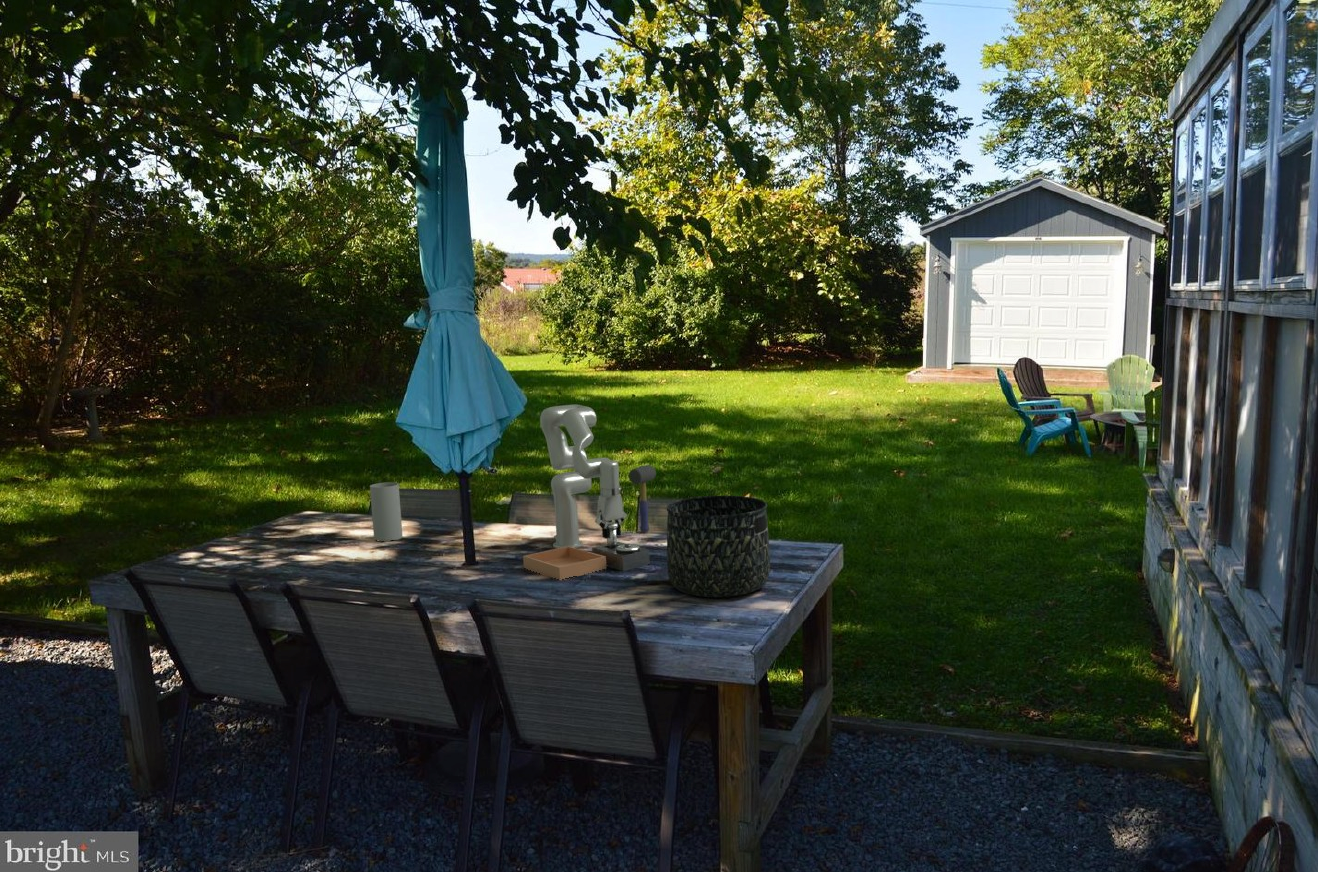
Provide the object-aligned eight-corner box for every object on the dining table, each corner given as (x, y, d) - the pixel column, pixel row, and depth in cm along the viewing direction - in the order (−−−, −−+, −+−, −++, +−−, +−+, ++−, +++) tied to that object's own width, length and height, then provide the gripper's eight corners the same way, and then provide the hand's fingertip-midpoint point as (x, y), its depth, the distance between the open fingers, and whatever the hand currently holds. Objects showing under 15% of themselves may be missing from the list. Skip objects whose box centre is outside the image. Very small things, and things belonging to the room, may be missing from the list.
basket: (708, 568, 392) (706, 491, 388) (790, 582, 369) (788, 500, 365) (647, 591, 364) (643, 509, 360) (731, 608, 341) (728, 520, 337)
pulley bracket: (592, 562, 409) (591, 541, 408) (618, 556, 417) (617, 535, 416) (623, 571, 393) (622, 549, 392) (649, 564, 401) (648, 543, 400)
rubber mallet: (643, 536, 450) (641, 468, 446) (630, 534, 454) (627, 467, 450) (659, 530, 460) (656, 464, 456) (645, 528, 464) (643, 463, 460)
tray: (523, 568, 403) (523, 555, 403) (569, 557, 417) (568, 545, 416) (560, 580, 384) (559, 567, 383) (606, 569, 397) (605, 556, 396)
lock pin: (602, 554, 409) (601, 523, 408) (613, 551, 413) (612, 521, 411) (611, 556, 405) (609, 525, 403) (621, 554, 409) (620, 523, 407)
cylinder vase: (368, 541, 460) (364, 487, 457) (383, 535, 472) (379, 482, 469) (393, 542, 456) (388, 487, 453) (407, 536, 468) (403, 482, 465)
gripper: (621, 487, 413) (623, 531, 416) (586, 493, 403) (588, 538, 405) (632, 489, 408) (634, 534, 410) (598, 496, 397) (599, 541, 400)
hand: (611, 535), depth 408 cm, fingers closed on lock pin, 5 cm apart
